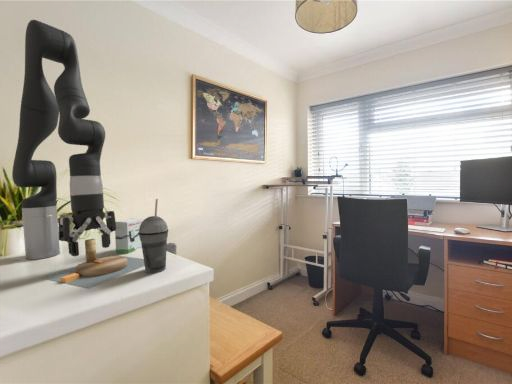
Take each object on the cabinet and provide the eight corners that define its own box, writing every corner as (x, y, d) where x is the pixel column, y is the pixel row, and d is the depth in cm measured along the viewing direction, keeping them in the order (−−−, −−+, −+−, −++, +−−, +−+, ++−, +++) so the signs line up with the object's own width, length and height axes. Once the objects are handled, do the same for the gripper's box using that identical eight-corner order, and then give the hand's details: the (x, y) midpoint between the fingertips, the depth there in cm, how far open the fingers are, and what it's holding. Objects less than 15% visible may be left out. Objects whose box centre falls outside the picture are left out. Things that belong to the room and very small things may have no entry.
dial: (137, 263, 72) (135, 237, 72) (95, 279, 61) (93, 248, 61) (108, 259, 77) (106, 235, 77) (65, 273, 66) (62, 245, 66)
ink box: (128, 258, 83) (126, 222, 83) (115, 257, 84) (113, 222, 84) (145, 250, 92) (143, 217, 91) (133, 250, 93) (131, 217, 92)
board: (39, 283, 64) (38, 273, 64) (112, 259, 82) (112, 251, 82) (88, 295, 56) (88, 283, 56) (157, 265, 75) (157, 257, 74)
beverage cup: (146, 271, 70) (142, 198, 69) (173, 269, 71) (170, 197, 70) (136, 281, 63) (131, 200, 62) (166, 279, 64) (162, 199, 63)
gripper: (102, 191, 78) (106, 244, 79) (49, 194, 65) (54, 257, 66) (119, 191, 75) (123, 245, 76) (67, 194, 62) (72, 260, 63)
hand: (91, 251), depth 71 cm, fingers open, 8 cm apart
